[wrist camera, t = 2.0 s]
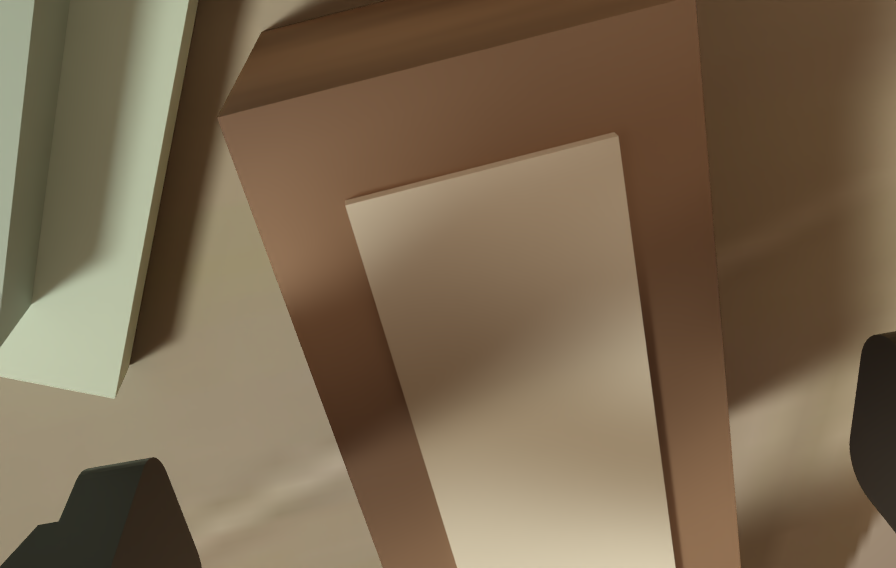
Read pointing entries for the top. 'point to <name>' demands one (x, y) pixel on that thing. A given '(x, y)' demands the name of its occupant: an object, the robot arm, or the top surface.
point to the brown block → (502, 273)
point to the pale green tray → (82, 179)
